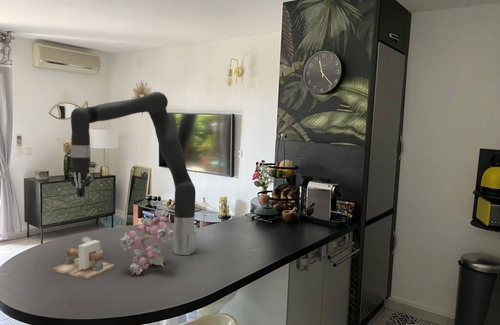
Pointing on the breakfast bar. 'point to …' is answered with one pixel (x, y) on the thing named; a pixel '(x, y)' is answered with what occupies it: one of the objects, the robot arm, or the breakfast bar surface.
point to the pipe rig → (73, 268)
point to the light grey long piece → (88, 239)
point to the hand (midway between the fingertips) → (80, 196)
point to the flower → (152, 232)
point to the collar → (84, 253)
